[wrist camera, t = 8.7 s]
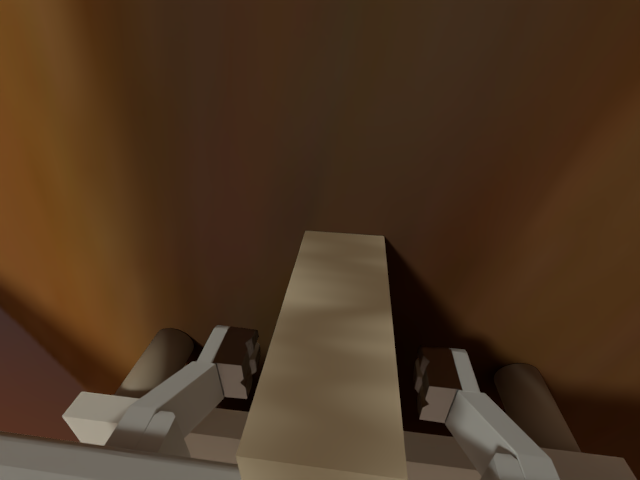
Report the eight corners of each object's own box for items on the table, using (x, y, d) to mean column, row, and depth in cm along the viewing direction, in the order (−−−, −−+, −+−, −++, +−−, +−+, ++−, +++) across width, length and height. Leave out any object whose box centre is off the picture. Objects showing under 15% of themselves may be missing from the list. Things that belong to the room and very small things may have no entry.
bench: (562, 359, 14) (644, 492, 10) (496, 467, 20) (532, 584, 15) (140, 318, 16) (61, 416, 12) (182, 426, 22) (138, 521, 17)
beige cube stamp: (452, 241, 12) (566, 502, 5) (396, 451, 20) (411, 659, 13) (242, 226, 13) (104, 437, 6) (270, 435, 21) (224, 624, 14)
